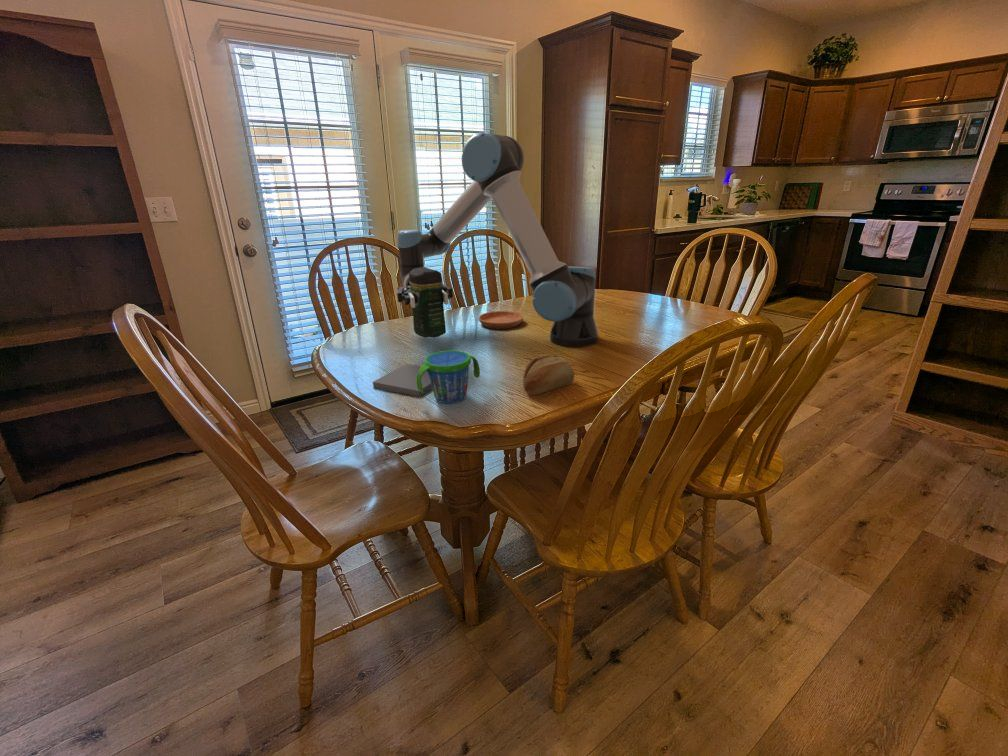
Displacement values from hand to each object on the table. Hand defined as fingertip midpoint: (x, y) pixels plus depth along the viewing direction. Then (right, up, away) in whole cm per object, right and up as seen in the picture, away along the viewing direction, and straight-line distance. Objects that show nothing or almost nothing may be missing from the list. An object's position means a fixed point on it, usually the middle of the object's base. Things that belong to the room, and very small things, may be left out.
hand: (430, 301), depth 126 cm
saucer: (+19, -1, +44) cm, 48 cm away
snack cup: (+7, -26, -14) cm, 30 cm away
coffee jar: (-1, -8, +8) cm, 12 cm away
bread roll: (+31, -23, -10) cm, 40 cm away
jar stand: (-4, -22, -5) cm, 22 cm away
